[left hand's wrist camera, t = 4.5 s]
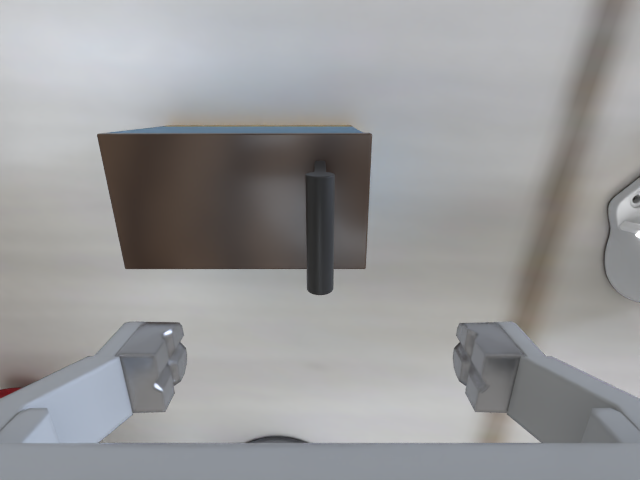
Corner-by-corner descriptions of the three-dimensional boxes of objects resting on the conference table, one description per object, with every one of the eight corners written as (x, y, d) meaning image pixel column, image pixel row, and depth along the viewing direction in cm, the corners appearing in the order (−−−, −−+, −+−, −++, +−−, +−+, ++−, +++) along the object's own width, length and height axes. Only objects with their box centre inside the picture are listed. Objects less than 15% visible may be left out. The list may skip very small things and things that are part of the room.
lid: (370, 132, 24) (392, 143, 17) (364, 263, 28) (380, 319, 20) (104, 132, 24) (11, 143, 17) (131, 264, 28) (63, 320, 20)
